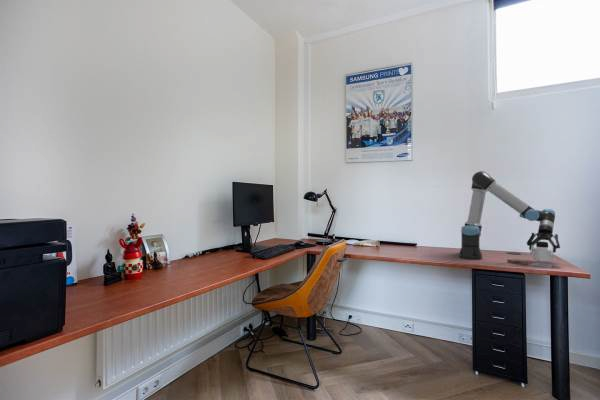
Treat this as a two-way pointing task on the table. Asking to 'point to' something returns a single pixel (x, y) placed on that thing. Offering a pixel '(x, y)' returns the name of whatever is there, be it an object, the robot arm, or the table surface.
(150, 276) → the table surface
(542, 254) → the medicine bottle
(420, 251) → the table surface
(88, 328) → the table surface
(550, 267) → the grey mat
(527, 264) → the walnut stop
